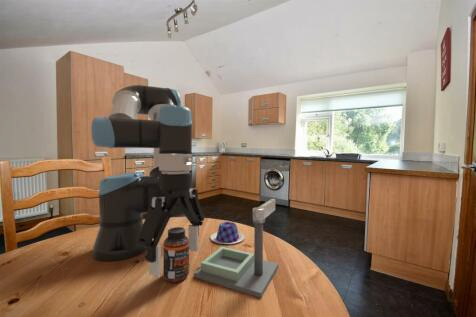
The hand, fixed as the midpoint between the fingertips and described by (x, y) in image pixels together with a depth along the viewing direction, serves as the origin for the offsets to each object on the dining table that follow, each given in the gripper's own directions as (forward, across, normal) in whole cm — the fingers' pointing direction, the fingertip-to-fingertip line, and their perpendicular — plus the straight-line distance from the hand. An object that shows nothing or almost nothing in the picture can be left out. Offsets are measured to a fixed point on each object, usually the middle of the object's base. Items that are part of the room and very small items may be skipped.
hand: (176, 261), depth 52 cm
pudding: (+4, +26, 0) cm, 26 cm away
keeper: (-10, +13, -18) cm, 24 cm away
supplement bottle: (+4, 0, 0) cm, 4 cm away
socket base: (+4, +8, -13) cm, 16 cm away
